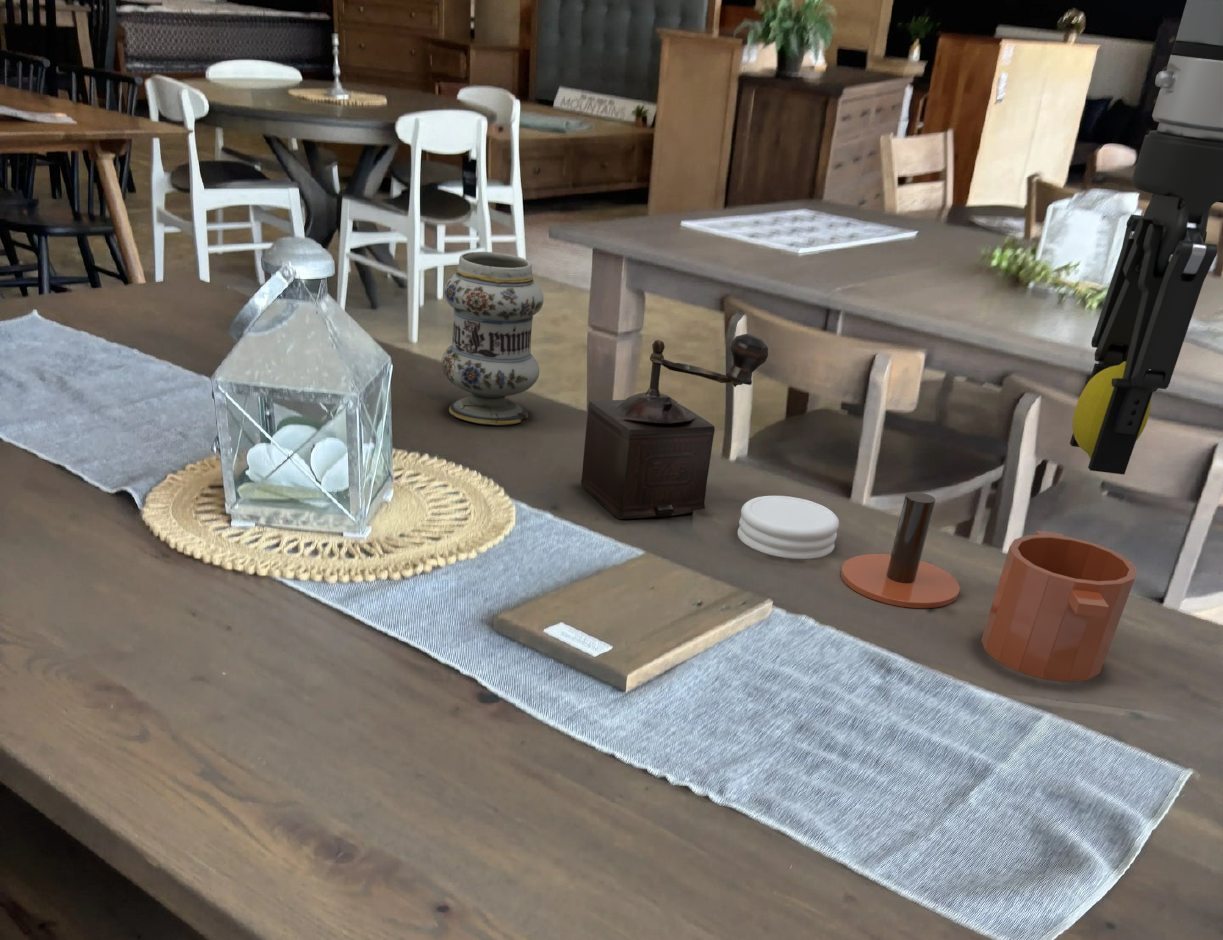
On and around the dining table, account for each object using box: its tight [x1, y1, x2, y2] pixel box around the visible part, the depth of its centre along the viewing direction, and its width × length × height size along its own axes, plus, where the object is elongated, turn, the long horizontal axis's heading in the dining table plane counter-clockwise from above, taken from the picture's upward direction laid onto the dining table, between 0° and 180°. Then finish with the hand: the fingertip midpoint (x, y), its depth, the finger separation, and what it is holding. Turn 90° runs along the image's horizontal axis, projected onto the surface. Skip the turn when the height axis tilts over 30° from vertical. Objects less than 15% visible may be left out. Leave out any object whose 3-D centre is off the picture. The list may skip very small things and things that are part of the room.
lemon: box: [1072, 361, 1152, 461], centre depth 95 cm, size 6×6×8 cm
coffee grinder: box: [580, 333, 769, 520], centre depth 126 cm, size 16×11×18 cm
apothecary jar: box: [440, 251, 545, 426], centre depth 145 cm, size 12×12×18 cm
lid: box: [840, 491, 961, 609], centre depth 114 cm, size 11×11×9 cm
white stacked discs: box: [737, 495, 840, 560], centre depth 122 cm, size 10×10×4 cm
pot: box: [980, 530, 1138, 683], centre depth 104 cm, size 10×16×10 cm, turn 175°
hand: (1096, 458), depth 97 cm, fingers closed on lemon, 5 cm apart
